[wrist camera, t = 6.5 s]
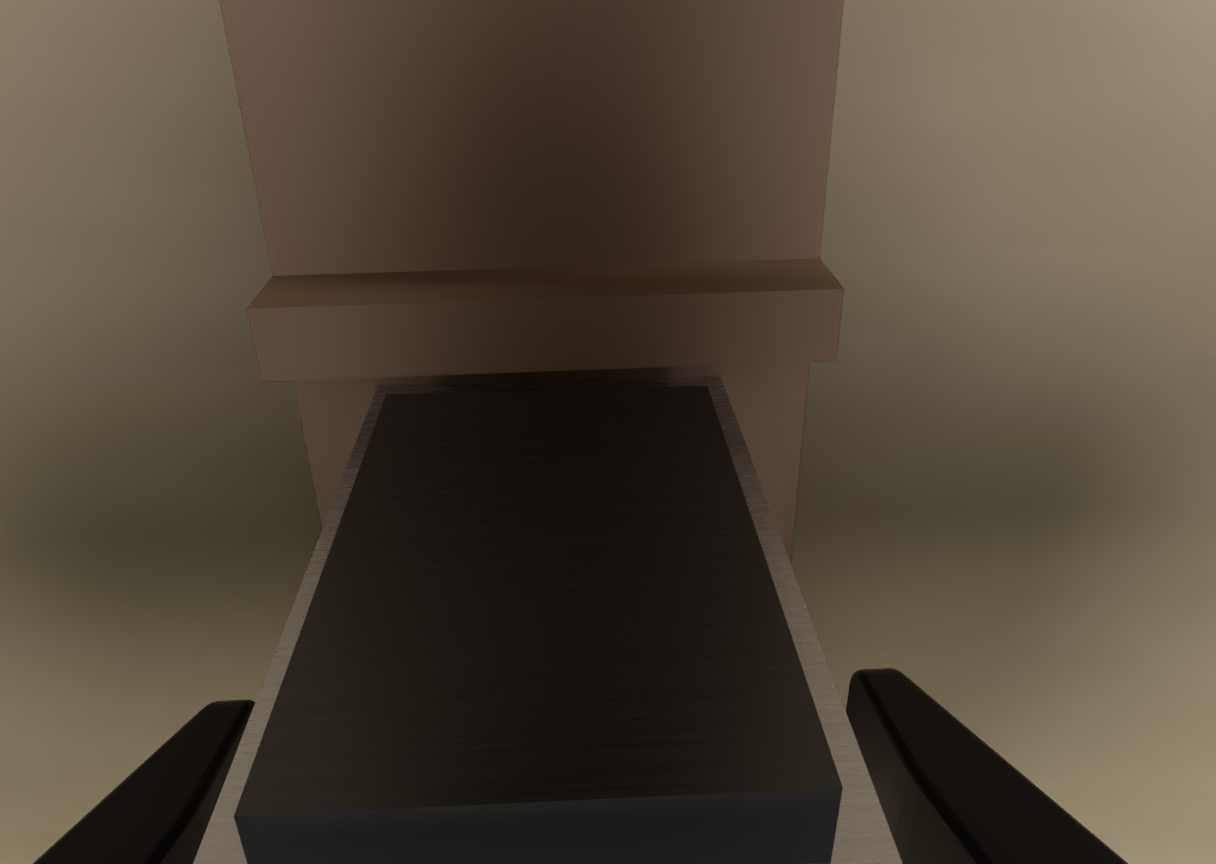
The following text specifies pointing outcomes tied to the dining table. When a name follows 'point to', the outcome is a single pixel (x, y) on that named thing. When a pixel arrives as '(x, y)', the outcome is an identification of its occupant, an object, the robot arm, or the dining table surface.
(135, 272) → the dining table surface
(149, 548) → the dining table surface
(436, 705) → the block
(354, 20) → the rail
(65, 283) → the dining table surface
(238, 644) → the dining table surface
